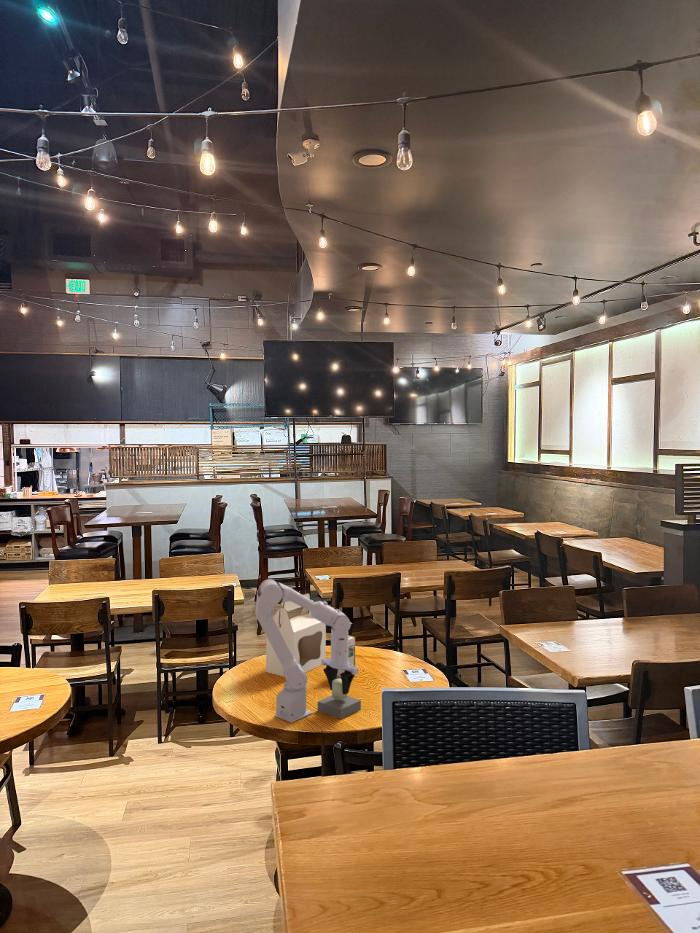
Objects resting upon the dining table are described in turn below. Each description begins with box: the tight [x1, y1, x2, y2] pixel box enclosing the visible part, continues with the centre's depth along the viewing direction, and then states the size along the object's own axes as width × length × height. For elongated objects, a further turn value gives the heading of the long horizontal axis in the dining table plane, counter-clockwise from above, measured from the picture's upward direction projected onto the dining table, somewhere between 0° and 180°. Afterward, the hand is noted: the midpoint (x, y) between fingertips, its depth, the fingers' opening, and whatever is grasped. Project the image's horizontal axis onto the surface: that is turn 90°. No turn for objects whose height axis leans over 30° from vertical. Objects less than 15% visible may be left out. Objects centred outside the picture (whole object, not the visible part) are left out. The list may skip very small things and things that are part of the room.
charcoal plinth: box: [317, 695, 362, 720], centre depth 201 cm, size 10×10×3 cm
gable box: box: [265, 593, 327, 678], centre depth 242 cm, size 22×13×28 cm, turn 148°
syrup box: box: [337, 635, 356, 678], centre depth 234 cm, size 6×6×14 cm
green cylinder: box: [331, 678, 348, 699], centre depth 201 cm, size 5×5×5 cm
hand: (339, 691), depth 201 cm, fingers closed on green cylinder, 5 cm apart
